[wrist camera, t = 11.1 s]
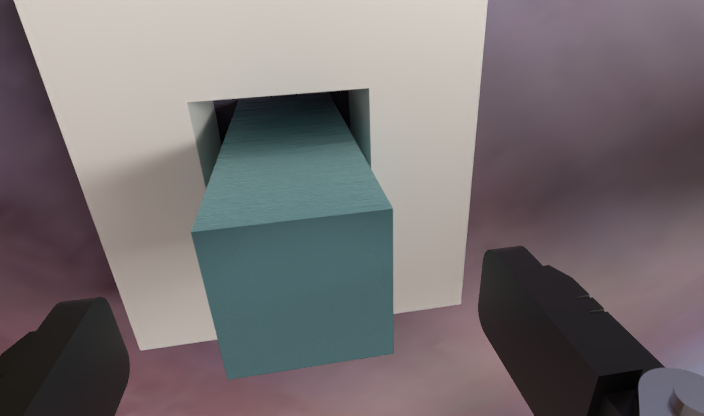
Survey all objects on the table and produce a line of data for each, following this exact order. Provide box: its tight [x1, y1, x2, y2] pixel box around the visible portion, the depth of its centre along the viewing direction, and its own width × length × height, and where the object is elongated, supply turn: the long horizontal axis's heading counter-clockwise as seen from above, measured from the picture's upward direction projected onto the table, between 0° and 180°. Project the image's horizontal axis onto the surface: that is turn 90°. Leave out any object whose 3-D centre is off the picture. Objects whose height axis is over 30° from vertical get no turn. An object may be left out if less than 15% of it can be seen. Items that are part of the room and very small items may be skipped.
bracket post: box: [191, 93, 394, 380], centre depth 15 cm, size 4×4×12 cm
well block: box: [14, 0, 488, 351], centre depth 18 cm, size 14×14×5 cm
